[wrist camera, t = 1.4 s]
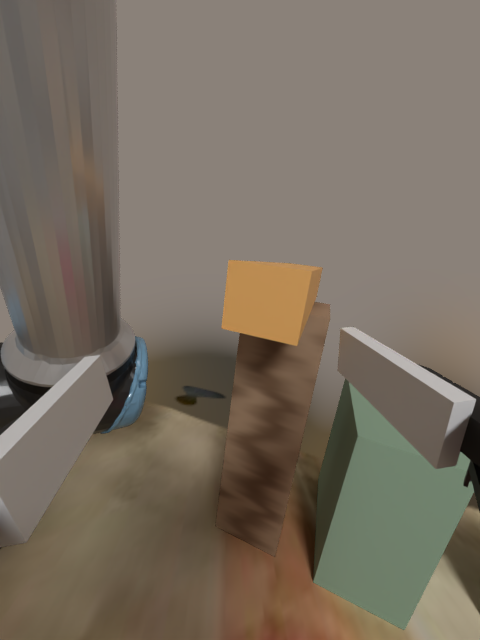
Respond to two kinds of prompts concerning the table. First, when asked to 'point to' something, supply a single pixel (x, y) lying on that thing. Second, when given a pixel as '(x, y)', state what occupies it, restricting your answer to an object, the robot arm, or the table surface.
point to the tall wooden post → (267, 430)
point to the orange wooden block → (269, 299)
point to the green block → (382, 512)
